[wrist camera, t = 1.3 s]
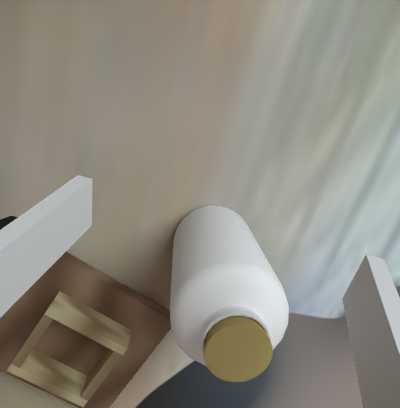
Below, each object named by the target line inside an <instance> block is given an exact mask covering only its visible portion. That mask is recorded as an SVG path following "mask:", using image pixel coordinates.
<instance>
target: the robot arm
mask: <svg viewBox="0 0 400 408" xmlns="http://www.w3.org/2000/svg"><path fill="white" fill-rule="evenodd" d="M91 226H92V179H90V178H86V177H83V176H79V175H78V176H76V177H75V178H73V179H72V180H70V181H69V182H68V183H66V184H65V185H63V186H62V187H61V188H59V189H58V190H56V191H55V192H53V193H52V194H51V195H49V196H48V197H46V198H45V199H44V200H42V201H41V202H39V203H38V204H36V205H35V206H34V207H32V208H31V209H29V210H28V211H27V212H25V213H24V214H22V215H21V216H19V217H14V216H9V217H7V218H4V219H1V220H0V318H1V317H2V316H3V315H4V314H5V313H6V312H7V311H8V310H9V308H10V307H11V306H12V305H13V304H14V303H15V302H16V301H17V300H18V299H19V298H20V297H21V296H22V295H23V294H24V293H25V292H26V291H27V290H28V289H29V288H30V287H31V286H32V285H33V284H34V283H35V282H36V281H37V280H38V279H39V278H40V277H41V276H42V275H43V274H44V273H45V272H46V271H47V270H48V269H49V268H50V267H51V266H52V265H53V264H54V263H55V262H56V261H57V260H58V259H59V258H60V257H61V256H62V255H63V254H64V253H65V252H66V251H67V250H68V249H69V248H70V247H71V246H72V245H73V244H74V243H75V242H76V241H77V240H78V239H79V238H80V237H81V236H82V235H83V234H84V233H85V232H86V231H87V230H88V229H89V228H90V227H91ZM343 304H344V309H345V315H346V319H347V324H348V330H349V335H350V340H351V346H352V351H353V356H354V361H355V367H356V372H357V376H358V382H359V387H360V392H361V397H362V403H363V408H400V298H399V295H398V293H397V290H396V288H395V285H394V283H393V280H392V278H391V275H390V273H389V270H388V268H387V265H386V263H385V260H384V259H381V258H378V257H374V256H370V255H367V254H366V256H365V258H364V260H363V261H362V263H361V265H360V267H359V269H358V271H357V273H356V275H355V276H354V278H353V280H352V282H351V284H350V286H349V288H348V289H347V291H346V293H345V295H344V297H343Z"/></svg>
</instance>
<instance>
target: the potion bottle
mask: <svg viewBox="0 0 400 408" xmlns="http://www.w3.org/2000/svg"><path fill="white" fill-rule="evenodd" d="M288 313H289V306H288V302H287V299H286V296H285V293H284V290H283V287H282V285H281V284H280V282H279V280H278V278H277V277H276V275H275V273H274V271H273V270H272V268H271V266H270V264H269V263H268V261H267V259H266V257H265V256H264V254H263V252H262V250H261V249H260V247H259V245H258V243H257V242H256V240H255V238H254V236H253V235H252V233H251V231H250V229H249V228H248V226H247V224H246V223H245V222H244V220H243V219H242V218H241V217H240V215H238V214H237V213H235V212H233V211H232V210H230V209H228V208H224V207H220V206H204V207H202V208H199V209H196V210H194V211H192V212H191V213H190V214H188V215H187V216H186V217H184V218H183V220H182V221H181V223H180V224H179V226H178V227H177V229H176V233H175V236H174V241H173V260H172V279H171V297H170V321H171V329H172V332H173V334H174V336H175V338H176V341H177V343H178V345H179V347H180V348H181V349H182V350H183V351H184V352H185V353H186V354H187V355H188V356H189V357H190V358H192V359H194V360H196V361H198V362H200V363H202V364H204V365H206V366H207V367H208V369H209V370H210V371H211V372H212V373H213V374H214V375H215V376H217V377H218V378H220V379H222V380H225V381H231V382H242V381H246V380H249V379H252V378H254V377H256V376H257V375H259V374H261V373H262V372H263V371H264V370H265V369H266V367H267V366H268V365H269V363H270V360H271V358H272V351H273V349H274V348H275V347H276V346H277V344H278V343H279V342H280V340H281V339H282V338H283V335H284V333H285V330H286V327H287V325H288Z"/></svg>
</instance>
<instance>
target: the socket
mask: <svg viewBox="0 0 400 408" xmlns="http://www.w3.org/2000/svg"><path fill="white" fill-rule="evenodd" d="M170 328H171V321H170V311H168V310H166V309H165V308H163V307H161V306H159V305H158V304H156V303H154V302H152V301H151V300H149V299H147V298H146V297H144V296H142V295H140V294H139V293H137V292H135V291H133V290H132V289H130V288H128V287H126V286H125V285H123V284H121V283H120V282H118V281H116V280H114V279H113V278H111V277H109V276H107V275H106V274H104V273H102V272H100V271H99V270H97V269H95V268H94V267H92V266H90V265H88V264H87V263H85V262H83V261H81V260H80V259H78V258H76V257H74V256H73V255H71V254H69V253H68V252H65V253H64V254H63V255H62V256H61V257H60V258H59V259H58V260H57V261H56V262H55V263H54V264H53V265H52V266H51V267H50V268H49V269H48V270H47V271H46V272H45V273H44V274H43V275H42V276H41V277H40V278H39V279H38V280H37V281H36V282H35V283H34V284H33V285H32V286H31V287H30V288H29V289H28V290H27V291H26V292H25V293H24V294H23V295H22V296H21V297H20V298H19V299H18V300H17V301H16V302H15V303H14V304H13V305H12V306H11V307H10V308H9V310H8V311H7V312H6V313H5V314H4V316H3V317H2V319H1V320H0V370H1V371H3V372H5V373H7V374H9V375H12V376H14V377H16V378H18V379H20V380H22V381H24V382H26V383H28V384H30V385H33V386H35V387H37V388H39V389H41V390H43V391H45V392H47V393H49V394H51V395H54V396H56V397H58V398H60V399H62V400H64V401H66V402H68V403H70V404H72V405H75V406H77V407H79V408H109V407H110V406H111V404H112V403H113V402H114V401H115V399H116V398H117V397H118V395H119V394H120V393H121V391H122V390H123V389H124V388H125V386H126V385H127V384H128V382H129V381H130V380H131V379H132V377H133V376H134V375H135V373H136V372H137V371H138V370H139V368H140V367H141V366H142V364H143V363H144V362H145V361H146V359H147V358H148V357H149V355H150V354H151V353H152V352H153V350H154V349H155V348H156V346H157V345H158V344H159V343H160V341H161V340H162V339H163V337H164V336H165V335H166V334H167V332H168V331H169V330H170Z"/></svg>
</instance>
